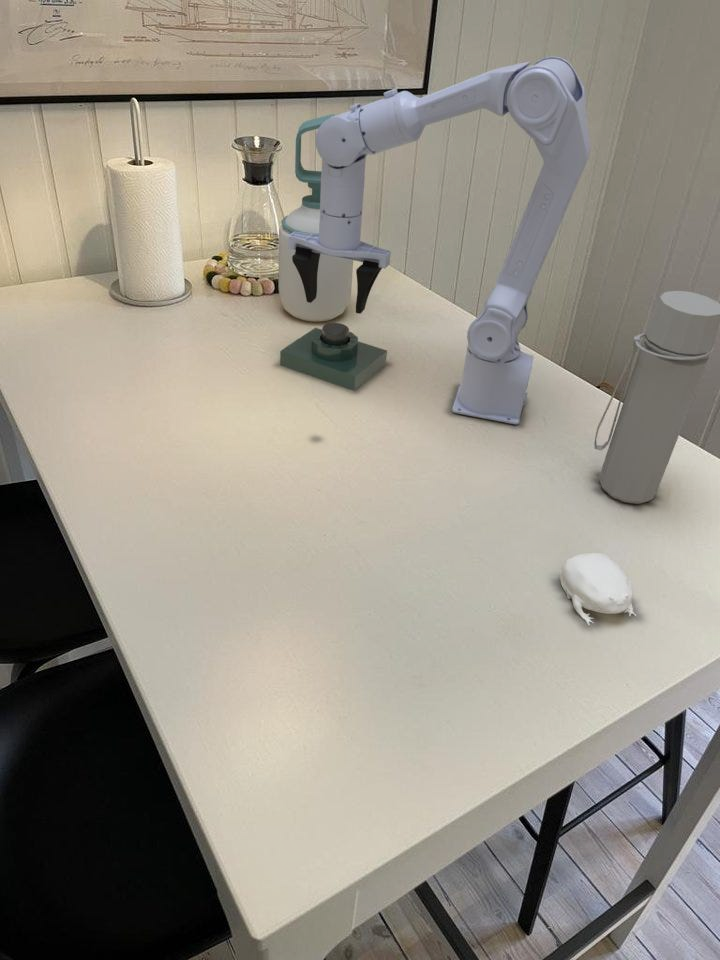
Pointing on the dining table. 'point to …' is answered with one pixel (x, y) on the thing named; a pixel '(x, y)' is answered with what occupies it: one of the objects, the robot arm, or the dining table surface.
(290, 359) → the green push button box
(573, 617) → the dining table surface
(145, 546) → the dining table surface
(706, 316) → the water bottle
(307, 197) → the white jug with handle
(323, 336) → the dark grey push button
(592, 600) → the chubby white toad
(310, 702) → the dining table surface
